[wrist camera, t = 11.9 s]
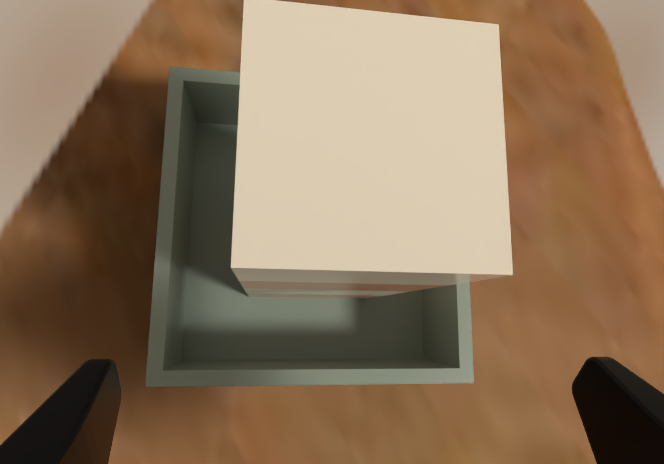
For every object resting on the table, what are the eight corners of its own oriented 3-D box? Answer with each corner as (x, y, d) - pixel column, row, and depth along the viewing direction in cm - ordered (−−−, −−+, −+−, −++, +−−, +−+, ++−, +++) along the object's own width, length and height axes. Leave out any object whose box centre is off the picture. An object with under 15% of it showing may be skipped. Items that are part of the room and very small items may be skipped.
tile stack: (366, 298, 20) (512, 274, 8) (248, 296, 19) (230, 267, 8) (366, 186, 21) (498, 24, 9) (253, 180, 20) (244, -4, 9)
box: (430, 369, 21) (473, 383, 16) (170, 371, 19) (144, 387, 15) (424, 132, 22) (461, 90, 18) (187, 115, 21) (169, 66, 17)
